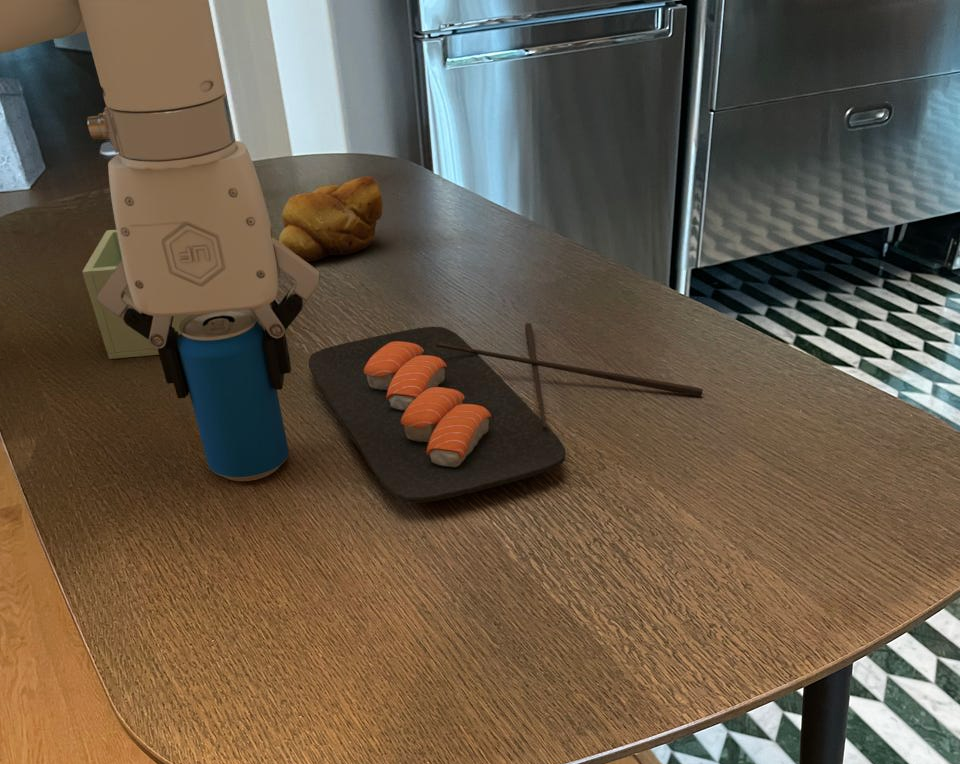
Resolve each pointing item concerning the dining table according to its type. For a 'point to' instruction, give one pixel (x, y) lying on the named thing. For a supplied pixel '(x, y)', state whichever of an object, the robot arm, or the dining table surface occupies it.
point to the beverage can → (233, 394)
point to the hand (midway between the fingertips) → (231, 384)
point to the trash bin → (113, 329)
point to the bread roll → (332, 219)
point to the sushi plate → (443, 412)
